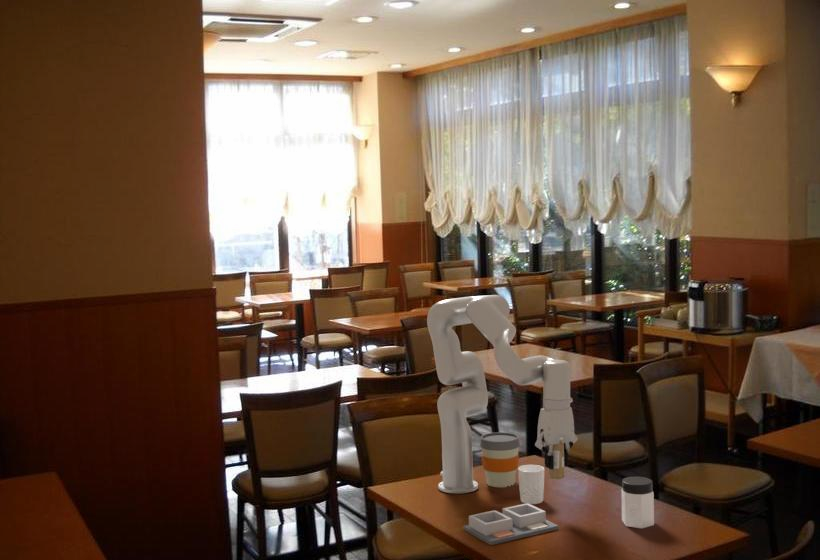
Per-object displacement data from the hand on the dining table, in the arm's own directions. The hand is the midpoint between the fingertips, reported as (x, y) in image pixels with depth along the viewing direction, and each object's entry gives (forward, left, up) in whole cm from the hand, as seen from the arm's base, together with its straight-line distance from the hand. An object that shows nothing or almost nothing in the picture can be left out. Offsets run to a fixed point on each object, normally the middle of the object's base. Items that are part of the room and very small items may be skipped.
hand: (556, 466), depth 267 cm
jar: (+18, +14, -14) cm, 27 cm away
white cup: (-14, +1, -14) cm, 20 cm away
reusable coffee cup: (-34, +3, -14) cm, 37 cm away
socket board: (+3, -18, -14) cm, 23 cm away
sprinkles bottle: (0, 0, -4) cm, 4 cm away
